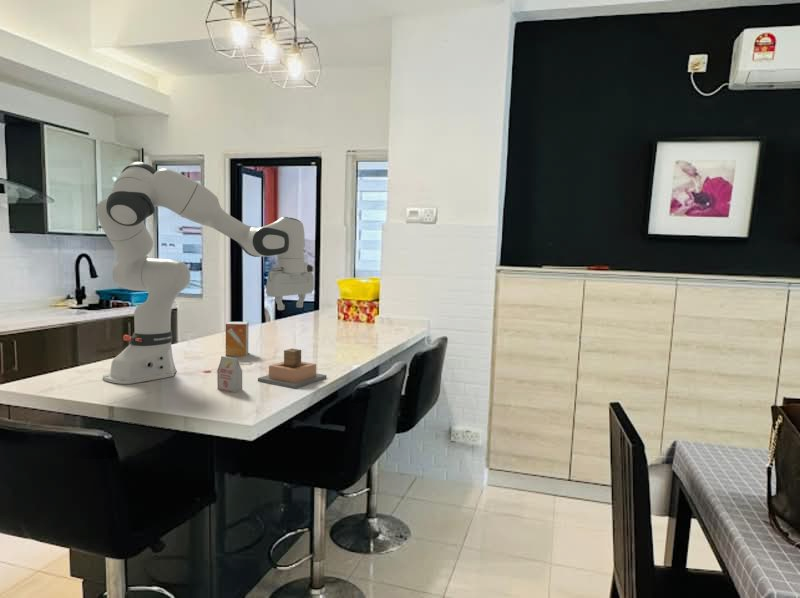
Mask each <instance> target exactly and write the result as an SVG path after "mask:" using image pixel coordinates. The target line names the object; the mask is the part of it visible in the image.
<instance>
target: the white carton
mask: <svg viewBox="0 0 800 598" xmlns="http://www.w3.org/2000/svg"><path fill="white" fill-rule="evenodd" d="M216 373H217V374H216V375H217V379H216V380H217V390H220V391H225V392H229V393H232V394H233V393H236V392H237V393H238V392H240V391H243V369H242V368H241V364H240V362H239V359H238V358H235V357H229V356H223V355H222V356H221V358H220V362H219V365H218V367H217V371H216Z"/></svg>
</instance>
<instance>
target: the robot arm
mask: <svg viewBox="0 0 800 598" xmlns="http://www.w3.org/2000/svg"><path fill="white" fill-rule="evenodd" d="M156 207H157V208H158V207H161V208H162V207H163V208H165V209H168V210H170V211H172V212H174V213H175V214H177V215H179V216H180V217H183V218H185V219H186V220H188V221H191V222H194V223H196V224H199V225H203V226H206V227H210V228H212V229H214V230H216V231H218V232H219V233H221V234H223V235H225V236H227V237H228V238H230V239H231V240H233V241H235V242H236V243H237V244H238V245H239V246H240V248H241V249H242V250H243V252H244V253H246V254H247V255H248V256H251V257H255V258H259V257H261V258H263V257H265V258H268V257H273V256H276V257H277V260H276V261H277V262H276V263H277V264H276V265H277V266H276V267H271V269H270V270H269V271H268V276H267V279H266V285H265V286H266V287H265V288H266V290H265V293H266V295H267V296H268V297H269V298H270V297H271V298H274V300H275V303H276V304H277V305H276V306H277V307H276V308H277V310H278V311H283V310H285V309H286V308H285V307H286V306H285V304H284V303H283V301H282V300H284V298H283V297H286V296H297V297H298V299H297V302H295V303H296V305H295V307H296V308H299V309H300V308H303V307H304V301H305V300H306V299H305V298H306V294H312V293H313V291H314V287H315V280H314V279H315V277H314V274H313V273H314V271H315V266H314V265H313V264H309V262H306V261H305V254H304V250H305V249H304V248H305V244H306V242H305V240H306V239H305V238H306V237H305V228H304V224H303V222H302V221H301V220H299V219H298V218H293V217H289V216H282V217H280V218H279V219H277V220H276V221H274V222H272V223H269V224H266V225H263V226H252V225H247V224H245V223H243V222H242V221H241V220H239V219H237V218H235V217H233V216H232V215H230V214H229V213H227V212H226V211H225V210H224V209H223V208H222V207H221V204H220V201H219V198H218V197H217V196H216V194H214V193H213V192H212V191H211V190H210V189H208V188H207V187H205V186H204V185H202V184H201V183H199V182H198V181H196V180H195V179H192V178H190V177H188V176H186V175H184V174H183V173H179V172H177V171H175V170H172V169H170V168H160V169H158V170H156V168H154V167H153V166H152V165H150V164H149V163H146V162H142V161H134V162H132V163H130V164H128V165H127V166H126V167H124V168H123V170H122V171H121V174H120V175H119V176H118V177H117V179H116V180H115V182H114V184H113V187H112V189H111V192H110V194H109V195H108V196H107V197H105V198H103V199H102V200H100V201H99V203H98V204H97V206H96V209H95V211H96V214H97V218H98V221H99V223H100V226H101V227H102V230H103V232H104V233H105V235H106V237H107V239H108V241H109V242H110V243H111V245H112V247H113V248H114V250H115V252H116V254H117V259H118V261H116V263H115V264H114V266H113V267H112V274H111V275H112V279H113V282H114V283H115V284H116V286H117V287H120V288H123V289H126V290H130V291H137V292H138V291H139V292H140V291H141V292H148V295H147V298H146V300H145V301H144V302H142V303H140V304H139V305H138V306H137V307H136V308H135V310H134V312H133V314H134V315H133V316H134V318H133V319H134V332H133V333H132V335H130V334H124V335H123V336H122V338H123V341H126V342H129V345H128V346H126V347H125V349H123V350H122V351H121V352H120V353H118V355H116V356H115V357H114V358H113V359H112V361H111V366H110V373H106V374H104V375H102V380H104V381H105V382H110V383H114V384H120V385H121V384H122V385H123V384H124V385H131V384H136V383H144V382H147V381H153V380H155V381H156V380H159V379H165V378H171V377H174V376H175V373H177V369H176V365H175V361H174V357H173V349H172V345H173V344H172V343H173V331H172V329H171V328H172V327H171V323H172V321H171V319H172V309H173V304H174V302H175V300H176V299H177V297H178V295H179V294H180V293H182V291H184V290H185V289H186V288H187V287H188V286H189V284H190V280H191V271H190V268H189V267H188V265H187V263H185V262H183V261H179V260H176V259H172V258H153V257H150V256H148V255H149V254H150V253H151V252H152V250H153V247H154V240H153V237H152V236H151V234H150V232H149V230H148V229H147V227H146V225H145V223H144V220H146V219H147V218H148V217H150V216H152V215H153V214H155V212H156V211H155V208H156Z"/></svg>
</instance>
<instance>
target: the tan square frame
mask: <svg viewBox="0 0 800 598" xmlns="http://www.w3.org/2000/svg"><path fill="white" fill-rule="evenodd" d="M325 379H327V374H322V373H317V363H313V362H306V361H301V366H300V367H297V368H290V367H284V361H281V362H278V363H274V364H271V365H268V375H263V376H260V377H257V382H259V383H260V382H261V383H265V384H269V385H270V384H271V385H275V386H281V387H285V388H291V389H298V388H301V387H305V386H307V385H310V384H313V383H316V382H319V381H322V380H325Z"/></svg>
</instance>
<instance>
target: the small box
mask: <svg viewBox="0 0 800 598" xmlns="http://www.w3.org/2000/svg"><path fill="white" fill-rule="evenodd" d="M248 353H249V321H228V322H226V324H225V357H229V356H231V357H234V356H235V357H237V356H238V357H241V356H244V357H246V356H248Z"/></svg>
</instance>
